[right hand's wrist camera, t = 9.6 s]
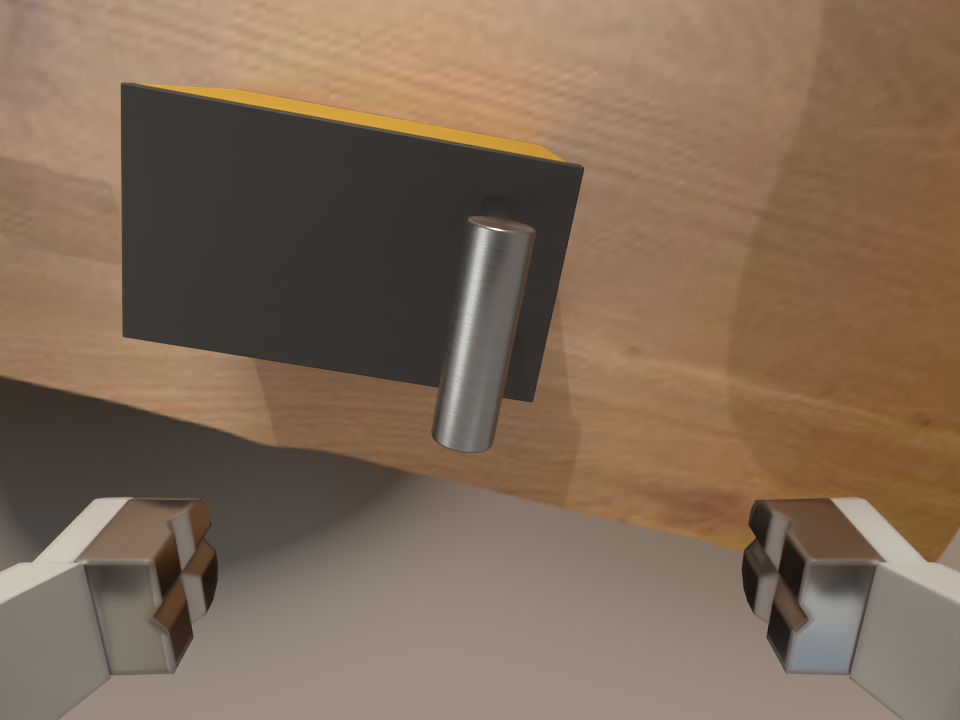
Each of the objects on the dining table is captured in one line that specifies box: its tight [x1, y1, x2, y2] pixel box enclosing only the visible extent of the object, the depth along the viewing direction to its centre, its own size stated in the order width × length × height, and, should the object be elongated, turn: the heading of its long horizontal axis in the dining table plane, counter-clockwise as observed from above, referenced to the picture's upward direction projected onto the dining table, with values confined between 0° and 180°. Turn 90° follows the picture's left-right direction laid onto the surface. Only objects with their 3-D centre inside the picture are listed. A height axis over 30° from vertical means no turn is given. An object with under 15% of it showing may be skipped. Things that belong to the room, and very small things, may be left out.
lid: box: [121, 83, 584, 453], centre depth 22 cm, size 16×9×9 cm, turn 80°
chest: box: [137, 83, 566, 162], centre depth 32 cm, size 16×9×11 cm, turn 80°
